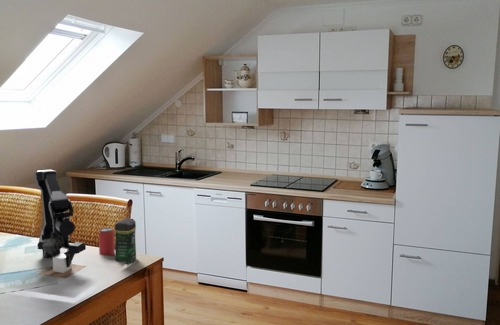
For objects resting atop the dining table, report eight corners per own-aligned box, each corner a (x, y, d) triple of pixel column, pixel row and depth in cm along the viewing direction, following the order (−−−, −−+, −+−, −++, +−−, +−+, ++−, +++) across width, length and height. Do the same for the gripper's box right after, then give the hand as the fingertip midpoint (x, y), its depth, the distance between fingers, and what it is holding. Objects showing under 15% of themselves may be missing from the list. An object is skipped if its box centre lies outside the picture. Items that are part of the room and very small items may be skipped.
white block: (53, 271, 181) (52, 257, 180) (61, 266, 186) (60, 253, 185) (63, 272, 180) (63, 258, 179) (71, 268, 185) (71, 254, 184)
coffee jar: (130, 265, 193) (129, 223, 190) (112, 264, 194) (111, 222, 191) (138, 257, 202) (138, 217, 199) (121, 256, 203) (120, 216, 200)
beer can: (110, 258, 201) (109, 232, 199) (96, 256, 202) (95, 230, 200) (117, 253, 207) (116, 227, 206) (104, 251, 209) (103, 226, 207)
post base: (37, 277, 179) (37, 266, 178) (59, 265, 191) (59, 255, 190) (66, 281, 175) (65, 270, 175) (86, 269, 188) (86, 259, 187)
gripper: (26, 232, 175) (28, 270, 177) (67, 237, 170) (69, 276, 173) (46, 224, 186) (48, 261, 188) (85, 229, 181) (87, 266, 183)
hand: (62, 266), depth 183 cm, fingers closed on white block, 5 cm apart
